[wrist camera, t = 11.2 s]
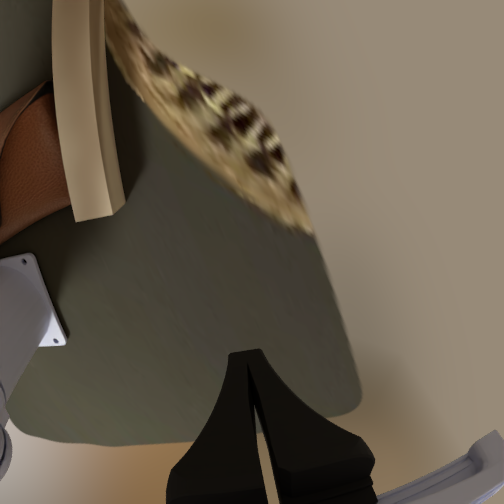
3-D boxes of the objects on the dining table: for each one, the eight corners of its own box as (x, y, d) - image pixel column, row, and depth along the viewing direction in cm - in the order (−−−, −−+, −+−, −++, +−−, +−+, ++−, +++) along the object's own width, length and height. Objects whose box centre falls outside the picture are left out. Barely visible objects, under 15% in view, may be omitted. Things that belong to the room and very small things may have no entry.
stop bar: (92, 209, 19) (75, 222, 16) (73, -30, 12) (57, -47, 9) (125, 202, 19) (113, 214, 16) (104, -41, 12) (92, -60, 9)
